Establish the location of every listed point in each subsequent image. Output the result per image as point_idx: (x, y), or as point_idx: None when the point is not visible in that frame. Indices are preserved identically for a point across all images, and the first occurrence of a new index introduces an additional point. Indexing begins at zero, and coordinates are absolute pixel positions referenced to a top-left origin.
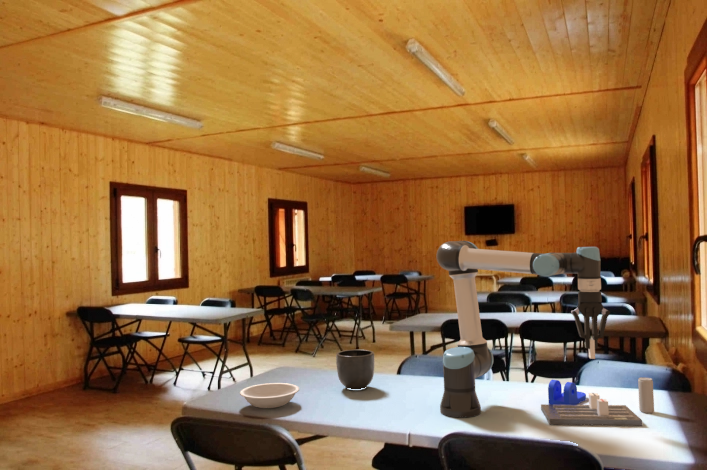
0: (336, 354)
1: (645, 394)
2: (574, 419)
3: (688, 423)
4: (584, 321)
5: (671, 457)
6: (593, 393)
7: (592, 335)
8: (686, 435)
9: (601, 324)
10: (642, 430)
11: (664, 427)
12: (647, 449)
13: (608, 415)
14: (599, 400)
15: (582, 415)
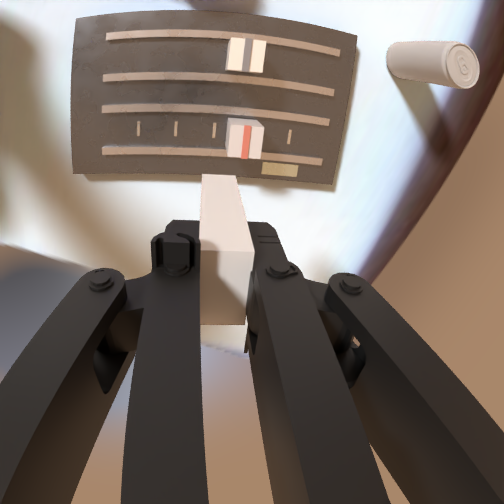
0: None
1: (423, 78)
2: (140, 172)
3: (432, 168)
4: (127, 501)
5: None
6: (248, 46)
7: (257, 290)
8: (379, 244)
9: (393, 451)
10: (309, 210)
11: (371, 190)
12: None
13: None
14: (234, 141)
15: (168, 152)
